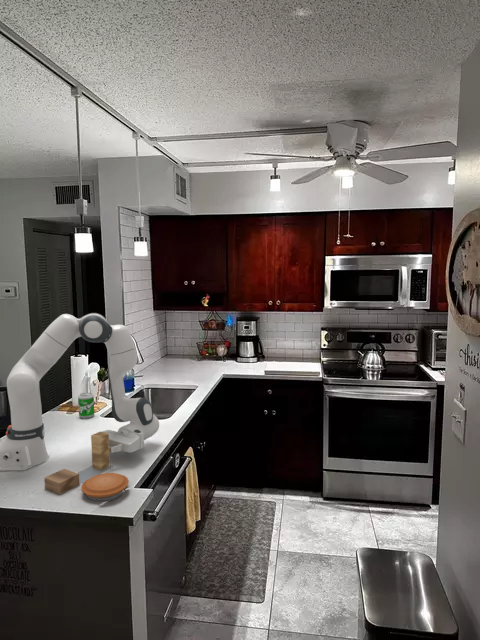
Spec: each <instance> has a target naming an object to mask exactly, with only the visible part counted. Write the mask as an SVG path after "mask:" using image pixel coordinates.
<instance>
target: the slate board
mask: <svg viewBox="0 0 480 640" xmlns="http://www.w3.org/2000/svg"><path fill="white" fill-rule="evenodd" d="M115 467H116V466H114V465H111V464H110V466H109V467H107V468H105V469H103V470H101V471H100V470H97V469H94V468H93V467H92V465H91V466H89V467H86V468H84V469H82V470H80V471H78V472H77V473H78V474H79V484H80V485H82V484H83V483H84V482H85V481H86V480H88V479H89V478H91V477H93V476H96V475H99V474H103V473H106V472H107V471H108V470H111V469H113V468H115ZM62 494H64V493H62ZM62 494H61V495H62Z"/></svg>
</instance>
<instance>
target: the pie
mask: <svg viewBox="0 0 480 640" xmlns="http://www.w3.org/2000/svg"><path fill="white" fill-rule="evenodd" d="M129 481H130V480H129V478H128V477H127V476H126V475H124V474H121V473H115V472H103V473H101V474H99V475H96V476H93V477H91V478H89V479H88V480H86V481H85V482H84V483H82V484H81V489H80V490H81V491H82V493H83V494H84V495H86V496H87V498H88V499H90V500H92V501H99V502H101V501H102V502H103V503H106V502H110V501H113V500H115V499H118V498H119V497H120V496H121V495H122V494H123V492H124V491H125V489H126V488H127V487H128V486H129V483H130V482H129Z"/></svg>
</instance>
